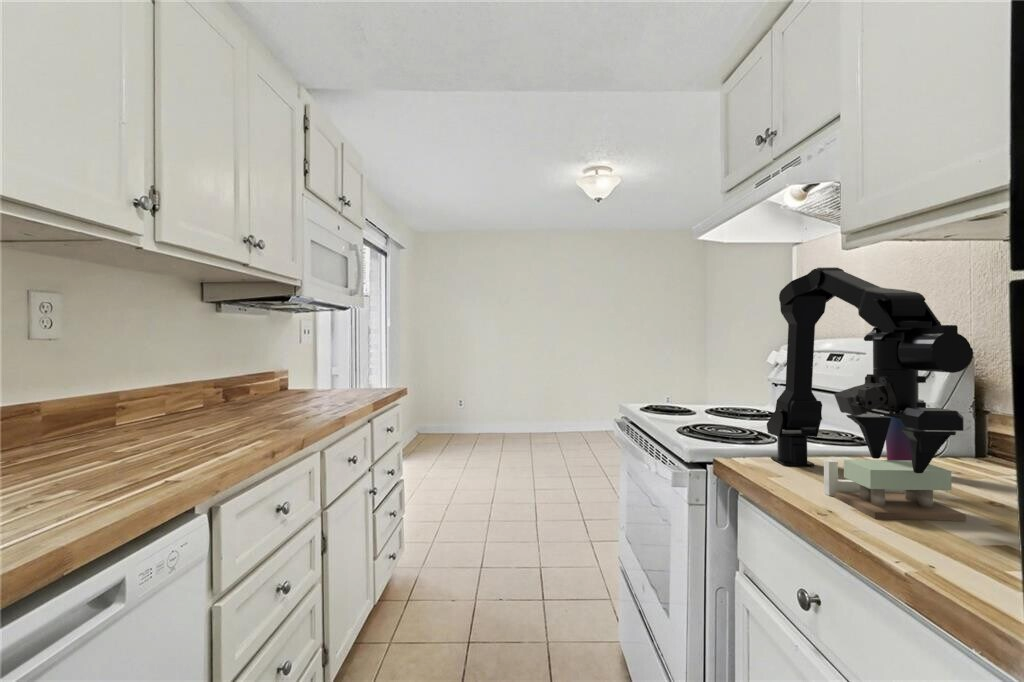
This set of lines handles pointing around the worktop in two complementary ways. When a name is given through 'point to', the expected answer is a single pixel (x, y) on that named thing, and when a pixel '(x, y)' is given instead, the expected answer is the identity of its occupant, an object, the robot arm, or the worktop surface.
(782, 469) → the worktop surface
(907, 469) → the board
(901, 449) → the cup
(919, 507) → the peg stand
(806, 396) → the robot arm
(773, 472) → the worktop surface
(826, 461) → the u-shaped frame
